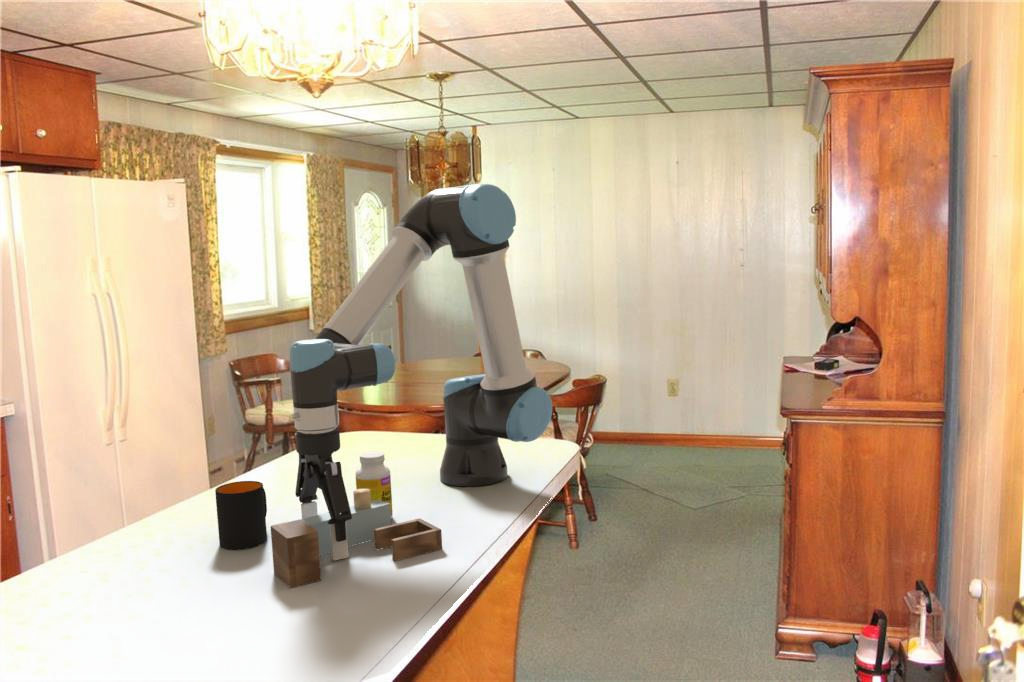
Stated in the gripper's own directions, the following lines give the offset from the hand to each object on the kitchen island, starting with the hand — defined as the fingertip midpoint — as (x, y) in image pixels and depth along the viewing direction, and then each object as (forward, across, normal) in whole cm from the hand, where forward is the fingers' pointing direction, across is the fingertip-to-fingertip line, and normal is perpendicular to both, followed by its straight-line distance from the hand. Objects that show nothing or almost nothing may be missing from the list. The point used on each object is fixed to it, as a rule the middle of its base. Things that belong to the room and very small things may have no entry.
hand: (325, 547), depth 154 cm
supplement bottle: (0, -10, +14) cm, 17 cm away
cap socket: (0, +10, -8) cm, 13 cm away
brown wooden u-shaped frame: (0, +10, +12) cm, 15 cm away
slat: (0, 0, +3) cm, 3 cm away
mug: (0, -14, -9) cm, 17 cm away
